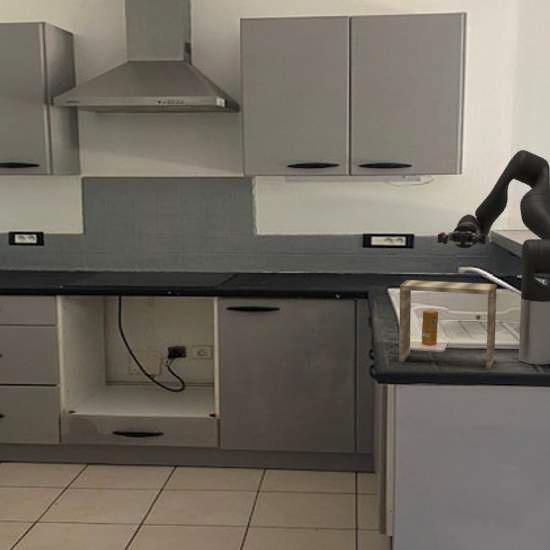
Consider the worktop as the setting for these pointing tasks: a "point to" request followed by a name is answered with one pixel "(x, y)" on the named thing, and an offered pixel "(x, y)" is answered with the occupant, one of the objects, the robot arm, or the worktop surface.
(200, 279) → the worktop surface
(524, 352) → the robot arm
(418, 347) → the tile pad
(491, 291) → the shelf bay
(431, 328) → the supplement box
